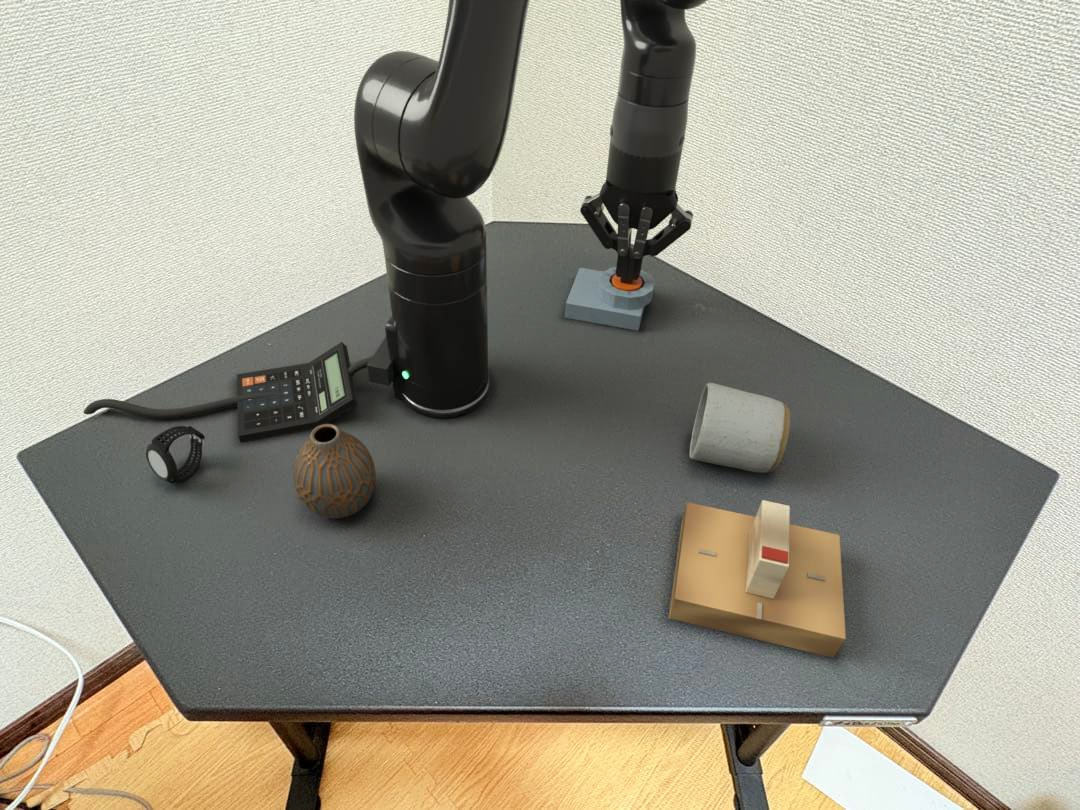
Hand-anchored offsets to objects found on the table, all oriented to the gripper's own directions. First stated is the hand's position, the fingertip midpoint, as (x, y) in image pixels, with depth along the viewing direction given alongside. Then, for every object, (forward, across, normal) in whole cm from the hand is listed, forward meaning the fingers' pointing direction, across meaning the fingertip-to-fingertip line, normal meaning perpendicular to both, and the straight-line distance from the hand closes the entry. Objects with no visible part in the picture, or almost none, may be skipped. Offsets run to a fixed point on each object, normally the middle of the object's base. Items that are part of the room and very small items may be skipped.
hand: (626, 279), depth 87 cm
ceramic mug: (+4, -14, +20) cm, 25 cm away
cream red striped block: (+1, -17, +36) cm, 40 cm away
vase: (+4, +20, +37) cm, 42 cm away
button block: (+4, +2, 0) cm, 5 cm away
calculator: (+4, +30, +26) cm, 40 cm away
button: (+2, 0, 0) cm, 2 cm away
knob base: (+4, -17, +36) cm, 40 cm away
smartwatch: (+4, +35, +38) cm, 52 cm away
